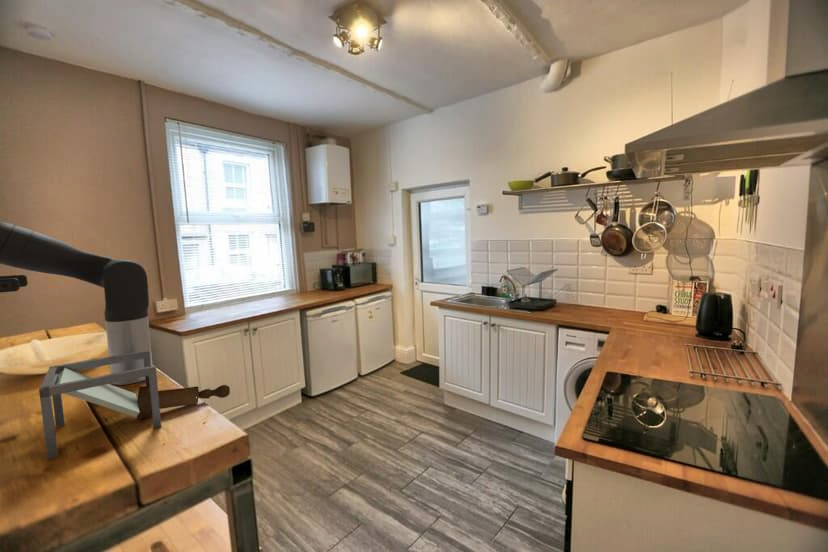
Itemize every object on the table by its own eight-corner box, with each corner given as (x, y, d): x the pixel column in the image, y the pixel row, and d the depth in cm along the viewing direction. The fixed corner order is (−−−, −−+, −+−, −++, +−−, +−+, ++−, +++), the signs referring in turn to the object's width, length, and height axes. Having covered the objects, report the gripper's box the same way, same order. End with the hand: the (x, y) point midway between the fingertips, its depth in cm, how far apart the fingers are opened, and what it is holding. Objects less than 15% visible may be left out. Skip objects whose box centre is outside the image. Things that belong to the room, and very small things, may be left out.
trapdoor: (61, 372, 73) (64, 367, 74) (132, 397, 81) (135, 393, 81) (54, 390, 64) (59, 385, 64) (136, 417, 72) (139, 412, 72)
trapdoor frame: (56, 426, 75) (49, 366, 73) (153, 402, 85) (149, 349, 84) (47, 459, 63) (39, 389, 62) (161, 427, 73) (155, 366, 72)
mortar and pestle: (136, 425, 76) (230, 410, 87) (139, 401, 74) (234, 388, 85) (136, 403, 80) (225, 392, 92) (139, 380, 78) (229, 371, 90)
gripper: (-108, 310, 60) (32, 298, 71) (-155, 325, 49) (18, 308, 60) (-116, 266, 59) (26, 260, 70) (-166, 271, 48) (12, 263, 59)
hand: (23, 282), depth 65 cm, fingers open, 8 cm apart
